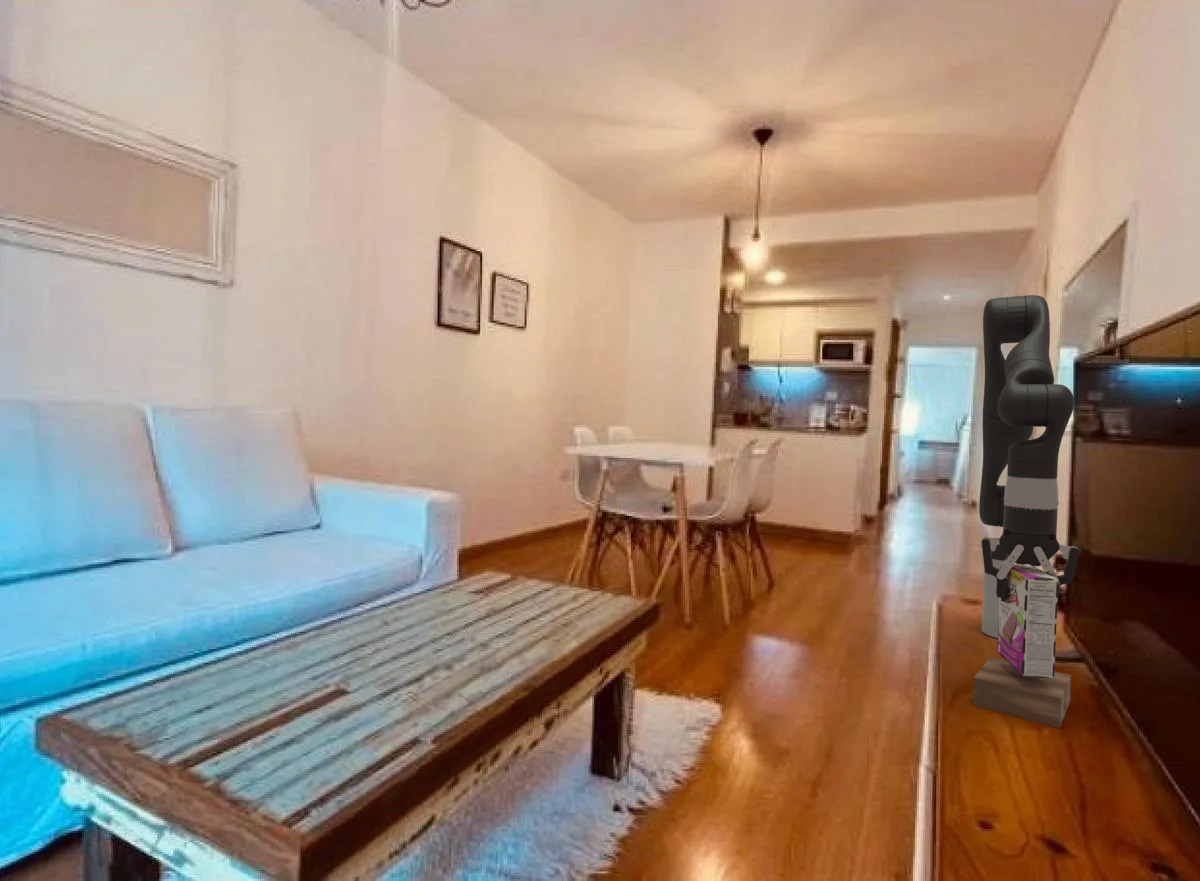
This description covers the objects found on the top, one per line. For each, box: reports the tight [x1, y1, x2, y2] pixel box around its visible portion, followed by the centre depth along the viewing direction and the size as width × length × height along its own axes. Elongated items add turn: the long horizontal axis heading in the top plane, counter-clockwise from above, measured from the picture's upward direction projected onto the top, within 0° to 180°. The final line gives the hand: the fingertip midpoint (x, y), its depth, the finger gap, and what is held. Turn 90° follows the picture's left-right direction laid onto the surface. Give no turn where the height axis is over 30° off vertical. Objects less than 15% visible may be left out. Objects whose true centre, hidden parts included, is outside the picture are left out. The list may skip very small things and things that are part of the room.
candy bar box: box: [996, 562, 1059, 679], centre depth 112 cm, size 11×5×16 cm, turn 168°
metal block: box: [972, 657, 1072, 729], centre depth 112 cm, size 13×12×5 cm
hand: (1026, 603), depth 112 cm, fingers closed on candy bar box, 6 cm apart
